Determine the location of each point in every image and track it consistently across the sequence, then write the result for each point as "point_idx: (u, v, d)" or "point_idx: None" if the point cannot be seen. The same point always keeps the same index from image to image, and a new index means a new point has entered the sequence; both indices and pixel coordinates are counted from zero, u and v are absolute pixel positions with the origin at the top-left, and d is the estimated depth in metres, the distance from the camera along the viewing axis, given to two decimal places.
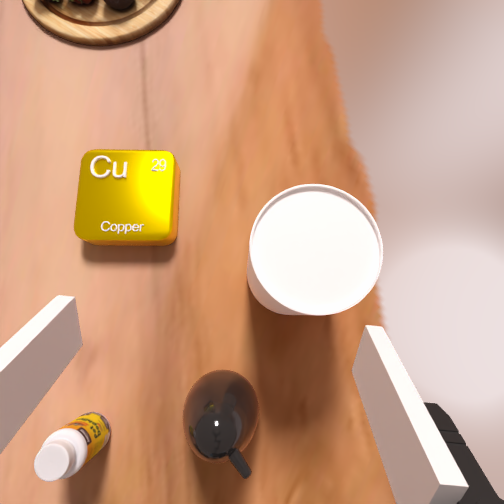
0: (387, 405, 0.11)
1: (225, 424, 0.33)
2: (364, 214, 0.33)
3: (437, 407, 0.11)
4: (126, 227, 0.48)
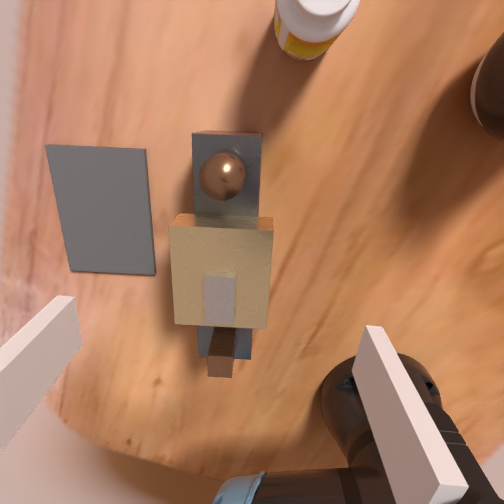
0: (386, 405, 0.11)
1: None
2: None
3: (437, 407, 0.11)
4: None
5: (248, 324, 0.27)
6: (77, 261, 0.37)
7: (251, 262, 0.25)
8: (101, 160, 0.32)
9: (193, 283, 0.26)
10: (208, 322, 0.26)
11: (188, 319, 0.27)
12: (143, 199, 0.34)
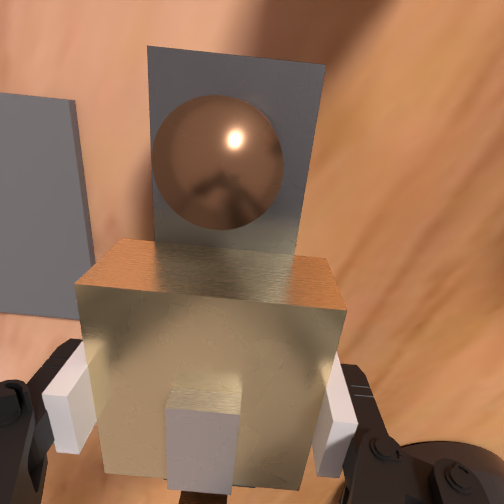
0: None
1: None
2: None
3: (356, 368, 0.12)
4: None
5: (260, 481, 0.13)
6: None
7: (283, 374, 0.10)
8: None
9: (144, 406, 0.11)
10: (175, 487, 0.12)
11: (135, 468, 0.13)
12: (72, 196, 0.18)
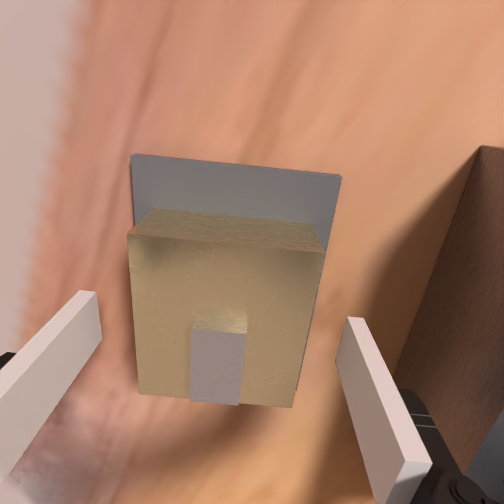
0: (363, 391, 0.12)
1: None
2: None
3: (411, 393, 0.12)
4: None
5: (262, 399, 0.16)
6: None
7: (278, 305, 0.14)
8: (246, 193, 0.15)
9: (172, 334, 0.15)
10: (195, 399, 0.15)
11: (163, 388, 0.16)
12: None
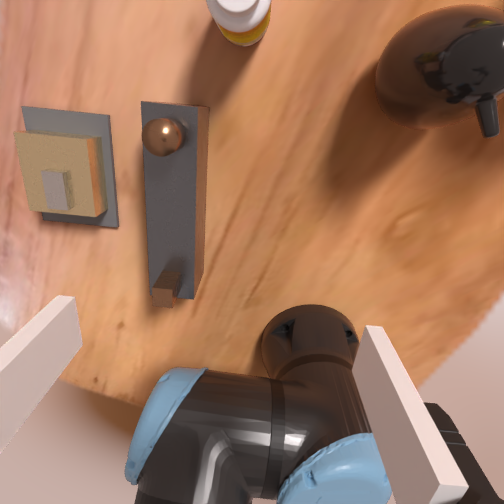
0: (387, 405, 0.11)
1: None
2: None
3: (437, 407, 0.11)
4: None
5: (81, 212, 0.38)
6: (49, 212, 0.42)
7: (76, 163, 0.36)
8: (71, 122, 0.37)
9: (38, 178, 0.37)
10: (49, 207, 0.37)
11: (39, 207, 0.38)
12: (107, 159, 0.39)
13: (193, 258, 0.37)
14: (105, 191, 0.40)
